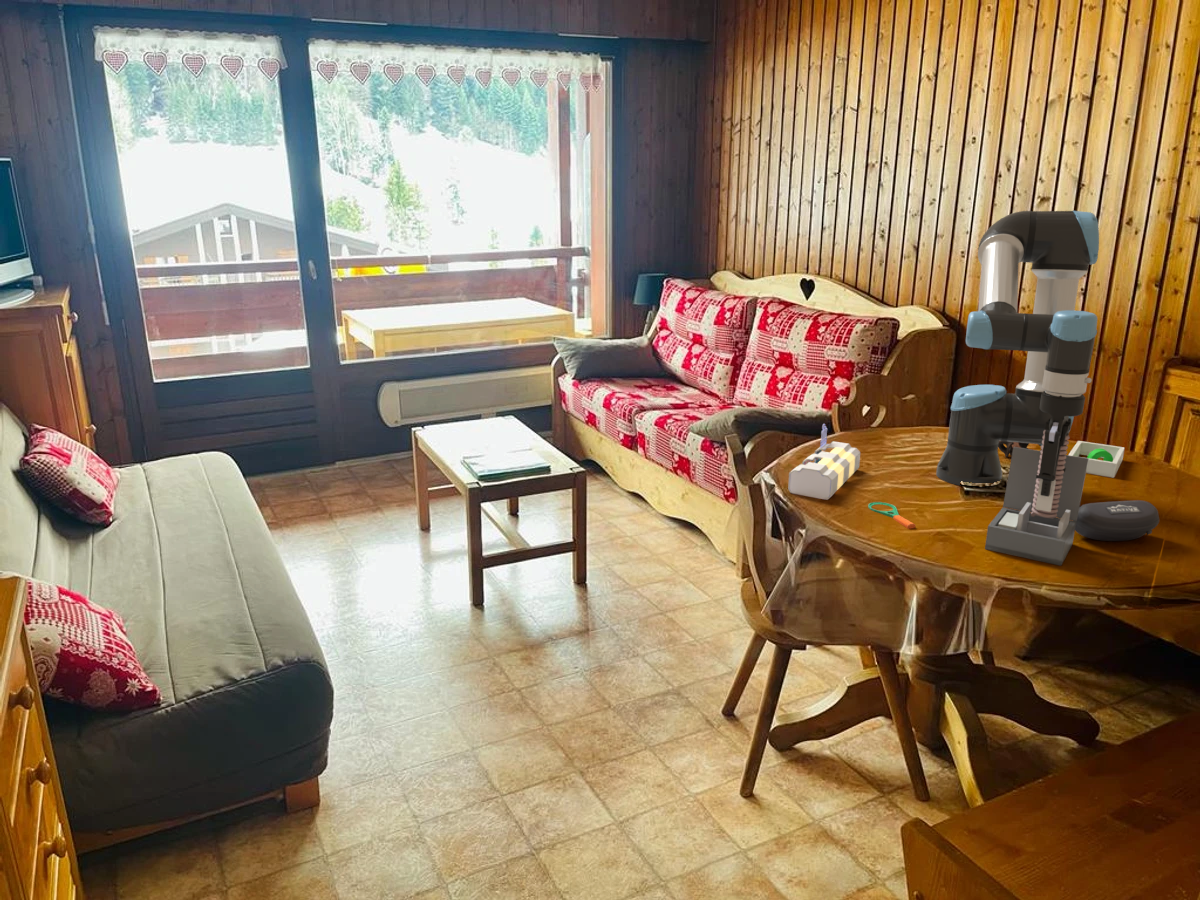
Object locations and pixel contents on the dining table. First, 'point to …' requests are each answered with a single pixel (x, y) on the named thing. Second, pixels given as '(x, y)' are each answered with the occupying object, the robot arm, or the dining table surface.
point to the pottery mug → (1011, 446)
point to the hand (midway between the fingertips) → (1045, 505)
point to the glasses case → (1116, 520)
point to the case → (1036, 533)
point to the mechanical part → (1100, 455)
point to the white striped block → (824, 469)
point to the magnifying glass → (894, 515)
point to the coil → (1057, 485)
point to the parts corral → (1098, 465)
